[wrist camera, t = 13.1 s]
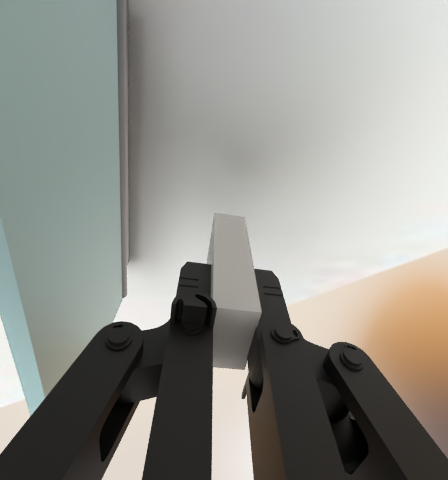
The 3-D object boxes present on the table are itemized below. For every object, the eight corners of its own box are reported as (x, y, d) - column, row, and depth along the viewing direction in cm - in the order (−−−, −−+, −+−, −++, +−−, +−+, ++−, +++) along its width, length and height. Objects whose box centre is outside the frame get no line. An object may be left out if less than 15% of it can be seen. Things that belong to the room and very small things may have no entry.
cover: (-156, -204, 5) (-85, -187, 5) (106, -17, 15) (126, -13, 15) (41, 451, 15) (62, 452, 15) (116, 289, 25) (128, 290, 25)
